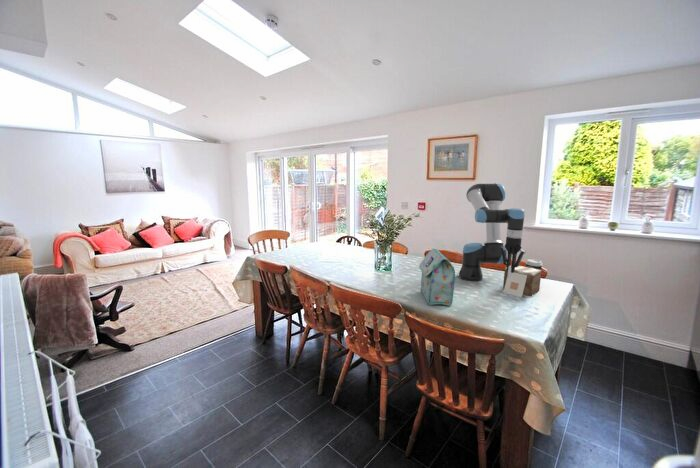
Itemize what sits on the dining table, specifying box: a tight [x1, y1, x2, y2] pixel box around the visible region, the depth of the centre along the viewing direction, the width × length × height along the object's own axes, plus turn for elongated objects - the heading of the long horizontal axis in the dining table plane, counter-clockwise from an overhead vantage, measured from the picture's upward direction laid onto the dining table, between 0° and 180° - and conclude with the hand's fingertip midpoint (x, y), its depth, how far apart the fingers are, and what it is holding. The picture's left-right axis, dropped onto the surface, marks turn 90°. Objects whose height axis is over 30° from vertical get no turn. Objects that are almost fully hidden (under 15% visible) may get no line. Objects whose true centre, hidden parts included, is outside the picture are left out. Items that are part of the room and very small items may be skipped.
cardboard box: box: [502, 265, 542, 297], centre depth 190 cm, size 16×12×13 cm
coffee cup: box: [525, 258, 544, 270], centre depth 201 cm, size 10×10×15 cm
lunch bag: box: [418, 248, 456, 307], centre depth 176 cm, size 23×16×27 cm
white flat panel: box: [503, 272, 527, 298], centre depth 184 cm, size 10×13×1 cm
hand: (509, 277), depth 179 cm, fingers closed
